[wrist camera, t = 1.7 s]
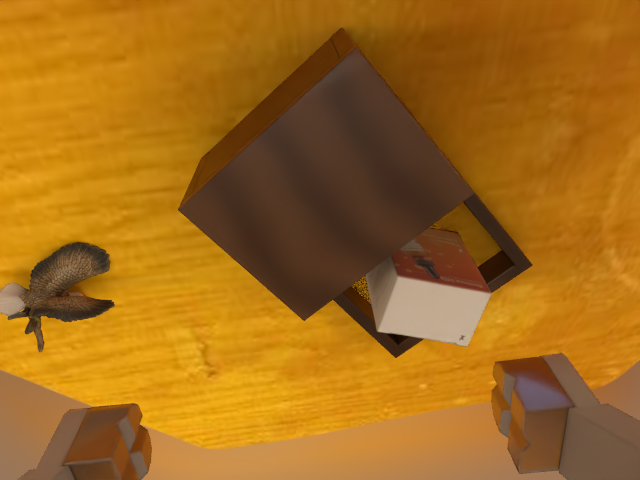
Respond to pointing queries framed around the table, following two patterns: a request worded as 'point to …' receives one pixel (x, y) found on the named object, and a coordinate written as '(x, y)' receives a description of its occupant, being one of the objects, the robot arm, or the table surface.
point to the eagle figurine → (57, 289)
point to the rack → (332, 188)
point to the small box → (429, 290)
